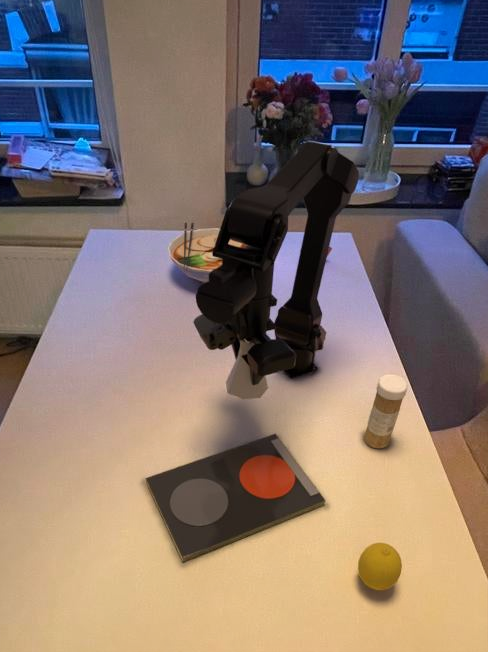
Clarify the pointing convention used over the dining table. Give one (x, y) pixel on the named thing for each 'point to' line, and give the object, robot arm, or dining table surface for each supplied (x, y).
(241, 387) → the flask
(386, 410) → the sprinkles bottle
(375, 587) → the lemon
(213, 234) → the ramen bowl
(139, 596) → the dining table surface
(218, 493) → the cooktop
